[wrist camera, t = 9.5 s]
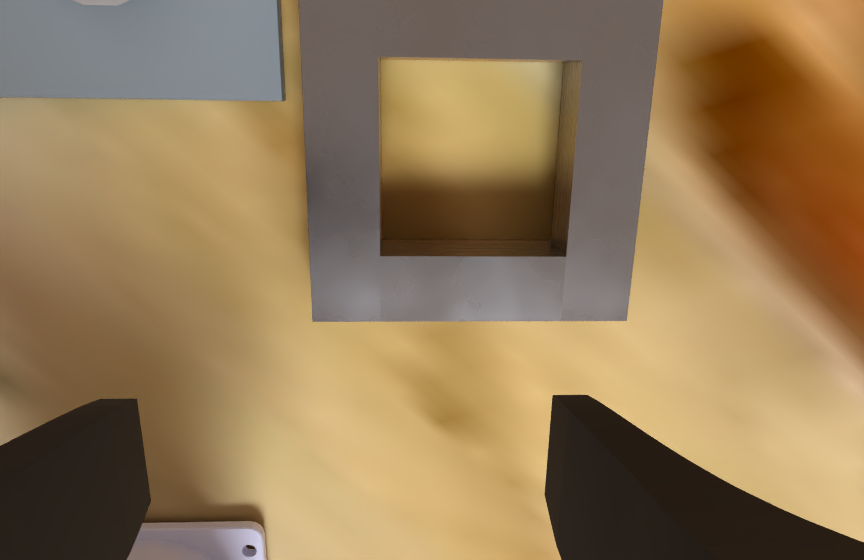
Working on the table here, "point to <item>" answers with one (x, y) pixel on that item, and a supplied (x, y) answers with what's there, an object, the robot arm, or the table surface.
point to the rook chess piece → (101, 2)
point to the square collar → (575, 169)
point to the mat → (142, 50)
